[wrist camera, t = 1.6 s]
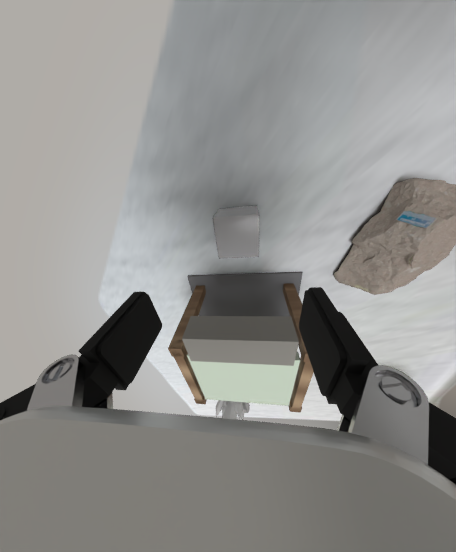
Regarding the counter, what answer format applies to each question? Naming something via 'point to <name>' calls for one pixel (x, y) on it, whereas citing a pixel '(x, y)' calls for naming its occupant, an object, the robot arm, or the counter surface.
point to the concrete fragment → (402, 237)
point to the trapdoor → (243, 357)
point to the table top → (245, 293)
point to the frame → (294, 310)
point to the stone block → (237, 232)
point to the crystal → (232, 409)
